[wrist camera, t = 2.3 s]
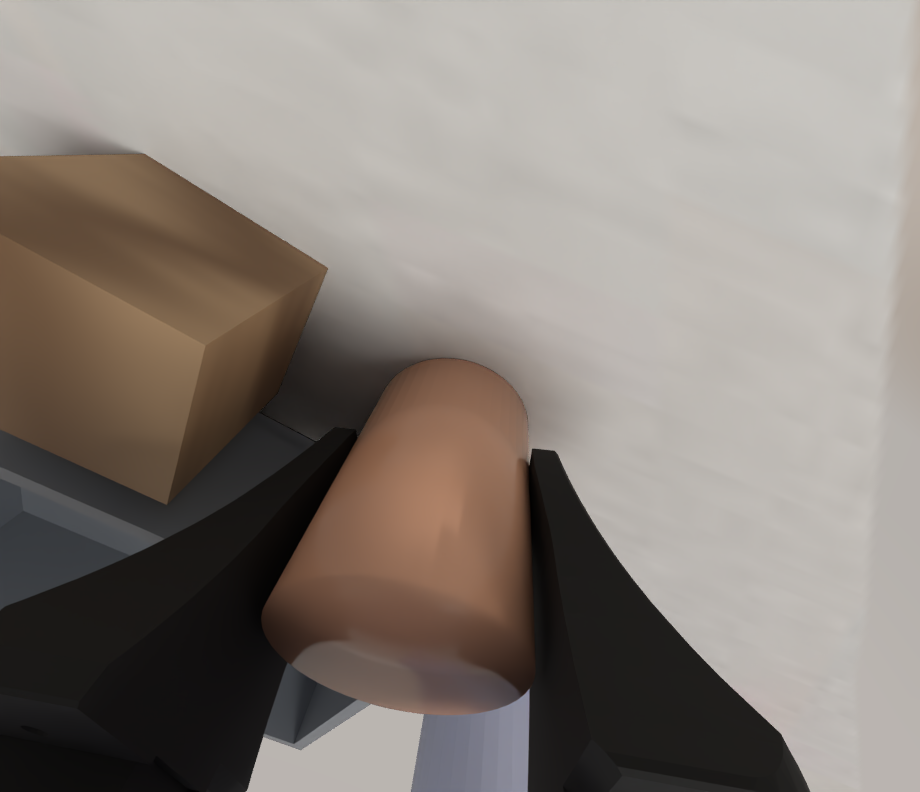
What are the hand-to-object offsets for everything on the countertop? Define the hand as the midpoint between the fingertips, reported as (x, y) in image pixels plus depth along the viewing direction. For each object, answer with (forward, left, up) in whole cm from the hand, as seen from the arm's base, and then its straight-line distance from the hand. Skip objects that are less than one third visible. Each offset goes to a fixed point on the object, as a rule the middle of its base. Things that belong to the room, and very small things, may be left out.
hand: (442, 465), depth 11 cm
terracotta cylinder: (0, 0, -2) cm, 2 cm away
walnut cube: (+8, 0, -2) cm, 8 cm away
